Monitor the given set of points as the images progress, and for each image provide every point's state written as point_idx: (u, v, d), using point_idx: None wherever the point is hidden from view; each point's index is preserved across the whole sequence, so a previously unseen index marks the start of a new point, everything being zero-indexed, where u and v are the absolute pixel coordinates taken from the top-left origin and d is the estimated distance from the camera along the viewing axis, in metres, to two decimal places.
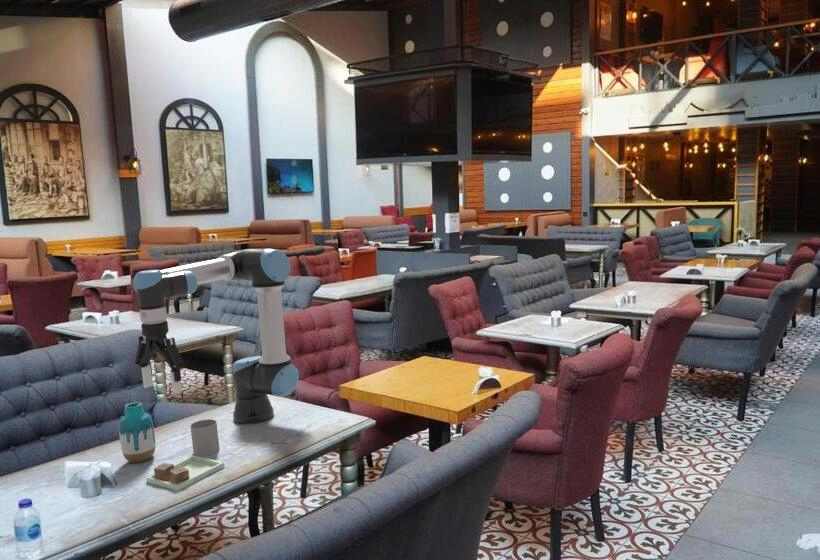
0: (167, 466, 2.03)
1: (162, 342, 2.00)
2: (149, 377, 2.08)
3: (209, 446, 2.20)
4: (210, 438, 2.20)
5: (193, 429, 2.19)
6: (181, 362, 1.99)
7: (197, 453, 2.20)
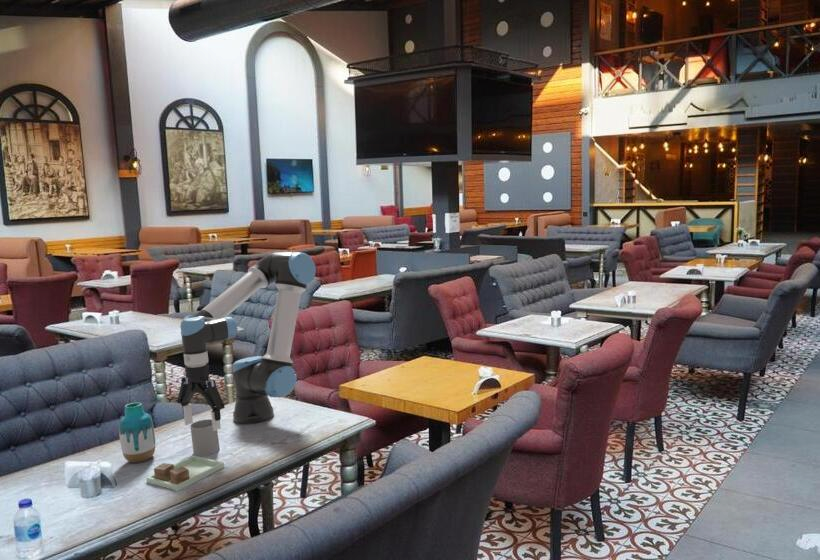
0: (167, 466, 2.03)
1: (204, 384, 2.18)
2: (190, 415, 2.26)
3: (209, 446, 2.20)
4: (210, 438, 2.20)
5: (193, 429, 2.19)
6: (221, 403, 2.17)
7: (197, 453, 2.20)
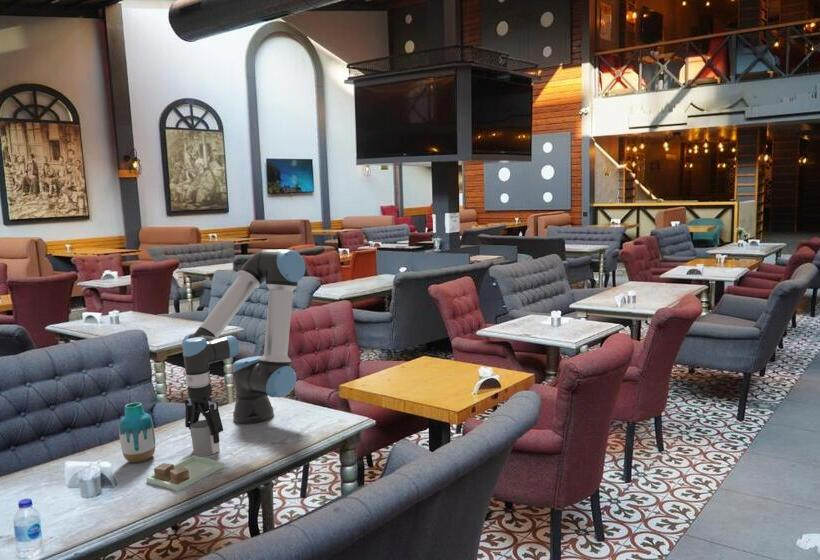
0: (167, 466, 2.03)
1: (206, 405, 2.19)
2: None
3: (209, 446, 2.20)
4: None
5: (193, 429, 2.19)
6: (220, 426, 2.19)
7: (197, 453, 2.20)
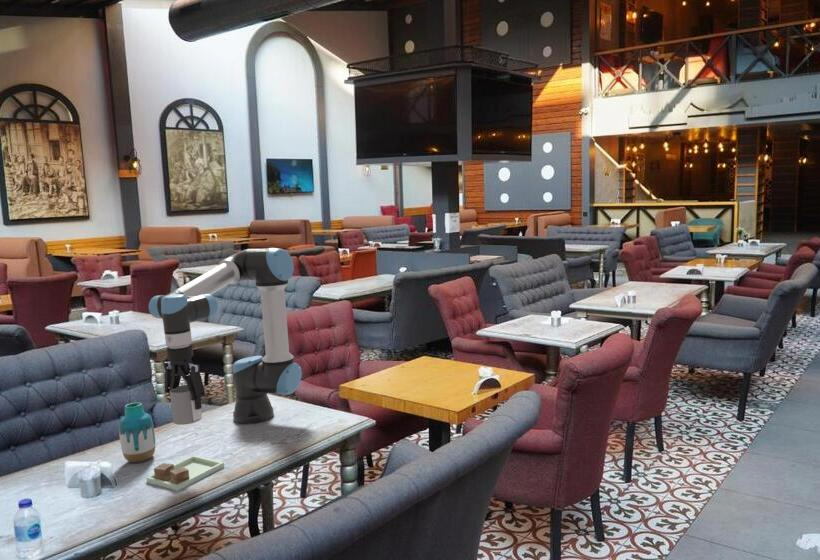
0: (167, 466, 2.03)
1: (187, 367, 2.01)
2: None
3: (190, 412, 2.02)
4: None
5: (172, 394, 2.01)
6: (202, 390, 2.01)
7: (177, 420, 2.02)
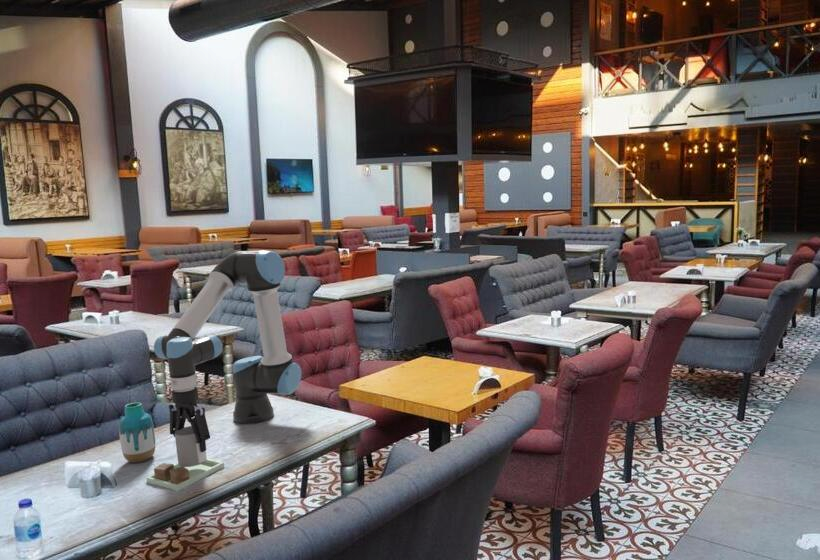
0: (167, 466, 2.03)
1: (192, 410, 2.03)
2: None
3: (195, 455, 2.04)
4: None
5: (177, 436, 2.03)
6: (207, 433, 2.03)
7: (182, 462, 2.04)
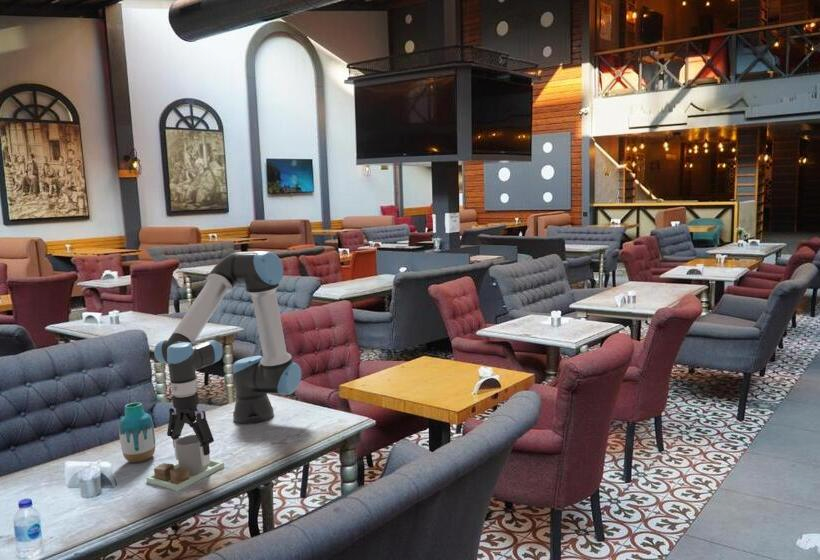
0: (167, 466, 2.03)
1: (193, 415, 2.03)
2: None
3: (197, 464, 2.05)
4: (197, 456, 2.04)
5: (179, 446, 2.04)
6: (210, 436, 2.03)
7: None
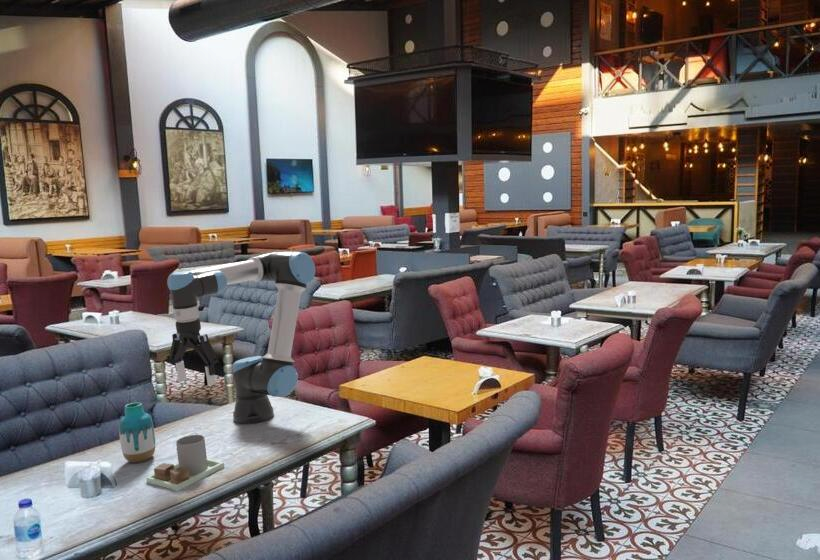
0: (167, 466, 2.03)
1: (196, 339, 2.13)
2: (183, 372, 2.22)
3: (197, 464, 2.05)
4: (197, 456, 2.04)
5: (179, 446, 2.04)
6: (215, 357, 2.12)
7: None
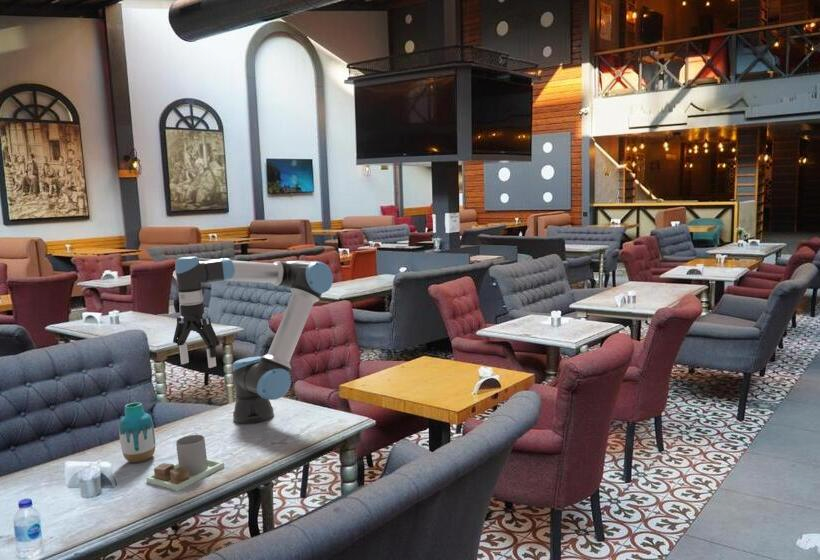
0: (167, 466, 2.03)
1: (199, 322, 2.21)
2: (186, 354, 2.29)
3: (197, 464, 2.05)
4: (197, 456, 2.04)
5: (179, 446, 2.04)
6: (216, 340, 2.20)
7: None
